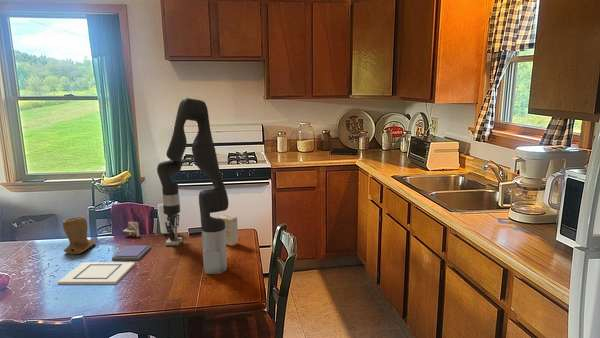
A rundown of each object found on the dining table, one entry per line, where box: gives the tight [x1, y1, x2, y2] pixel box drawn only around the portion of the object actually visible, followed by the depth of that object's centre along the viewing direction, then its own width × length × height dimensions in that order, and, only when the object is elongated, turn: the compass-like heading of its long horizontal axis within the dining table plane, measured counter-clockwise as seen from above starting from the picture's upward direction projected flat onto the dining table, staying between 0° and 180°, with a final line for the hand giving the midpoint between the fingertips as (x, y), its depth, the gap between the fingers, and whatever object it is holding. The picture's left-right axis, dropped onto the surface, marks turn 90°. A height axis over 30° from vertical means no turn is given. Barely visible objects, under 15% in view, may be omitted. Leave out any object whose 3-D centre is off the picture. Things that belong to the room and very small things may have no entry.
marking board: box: [57, 261, 136, 285], centre depth 166 cm, size 18×22×1 cm
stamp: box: [165, 227, 183, 247], centre depth 198 cm, size 6×6×8 cm
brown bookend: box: [62, 215, 96, 255], centre depth 191 cm, size 15×12×15 cm
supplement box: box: [217, 214, 239, 247], centre depth 197 cm, size 8×5×13 cm, turn 58°
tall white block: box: [157, 202, 169, 235], centre depth 213 cm, size 7×7×15 cm
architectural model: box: [122, 221, 140, 238], centre depth 209 cm, size 3×7×7 cm, turn 75°
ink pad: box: [111, 245, 152, 261], centre depth 186 cm, size 14×12×2 cm
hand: (173, 238), depth 198 cm, fingers closed on stamp, 3 cm apart
